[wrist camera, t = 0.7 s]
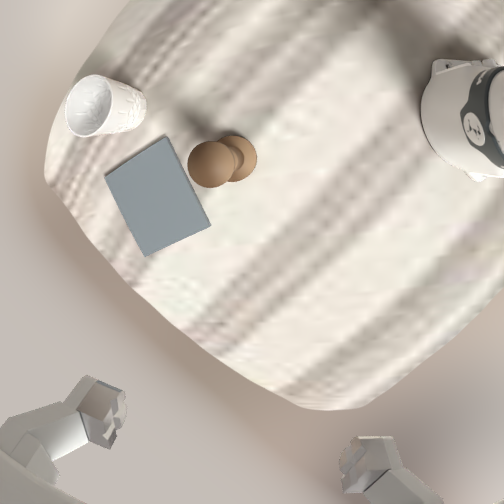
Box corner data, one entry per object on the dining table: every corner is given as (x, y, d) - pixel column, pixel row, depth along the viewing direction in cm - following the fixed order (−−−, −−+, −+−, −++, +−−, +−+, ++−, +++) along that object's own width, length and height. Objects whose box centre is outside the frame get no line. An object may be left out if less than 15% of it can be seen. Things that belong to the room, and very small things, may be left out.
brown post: (244, 128, 36) (224, 121, 24) (264, 169, 37) (252, 179, 26) (204, 148, 37) (169, 151, 26) (223, 187, 39) (196, 206, 28)
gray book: (168, 137, 37) (165, 137, 36) (211, 225, 41) (209, 226, 40) (107, 176, 40) (104, 177, 39) (146, 255, 44) (144, 257, 43)
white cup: (155, 84, 34) (117, 71, 25) (147, 136, 37) (108, 137, 28) (110, 85, 35) (69, 77, 26) (104, 134, 38) (61, 137, 29)
